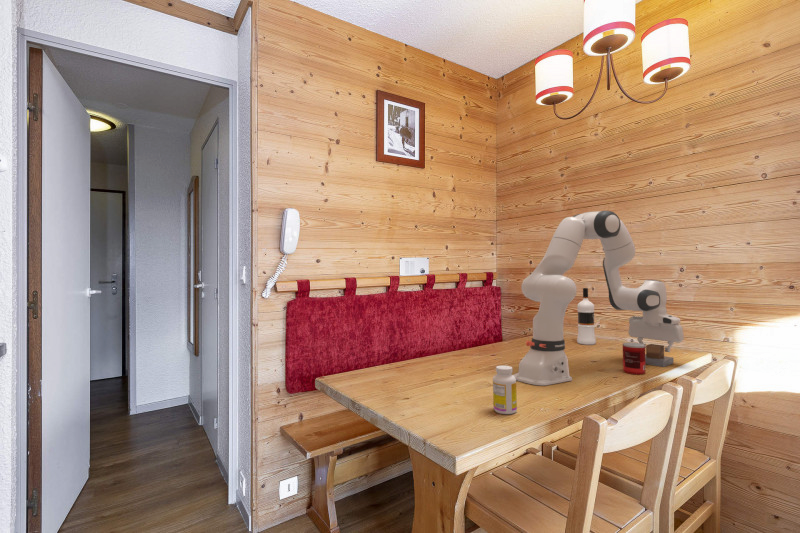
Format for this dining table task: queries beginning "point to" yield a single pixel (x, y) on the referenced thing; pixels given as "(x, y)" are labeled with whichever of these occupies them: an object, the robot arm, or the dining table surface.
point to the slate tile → (659, 361)
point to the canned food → (634, 358)
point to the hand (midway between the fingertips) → (655, 350)
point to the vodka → (586, 321)
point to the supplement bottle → (504, 391)
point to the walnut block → (655, 351)
